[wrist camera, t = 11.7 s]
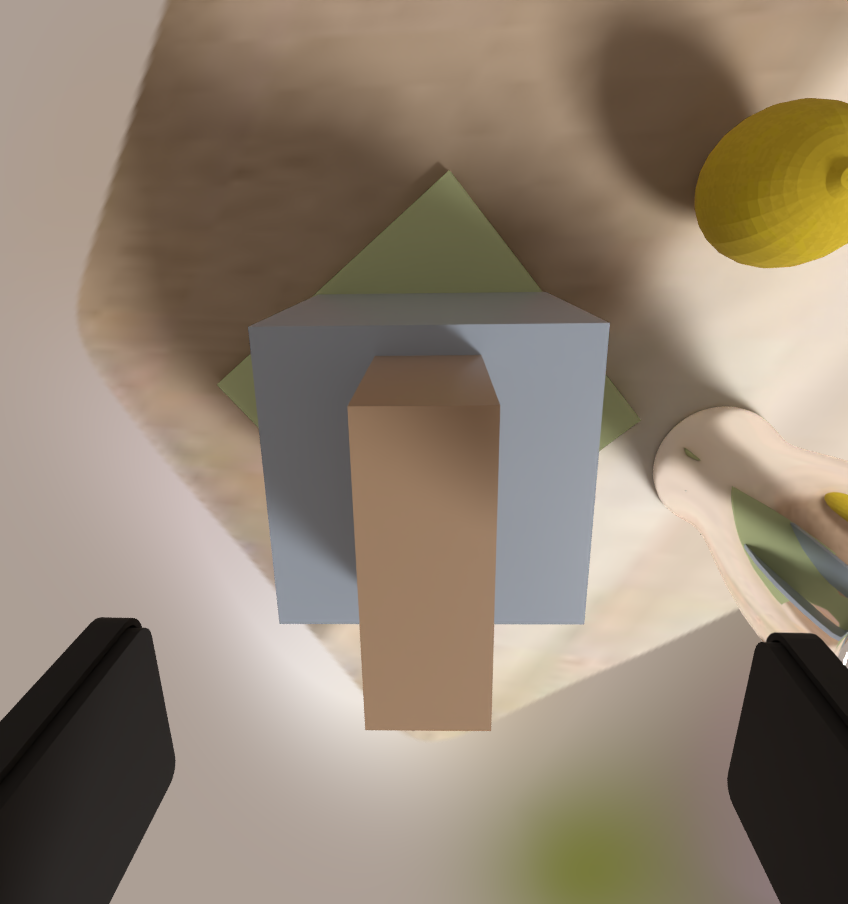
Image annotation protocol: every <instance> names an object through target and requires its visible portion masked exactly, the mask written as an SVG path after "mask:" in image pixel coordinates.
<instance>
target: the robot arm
mask: <svg viewBox="0 0 848 904" xmlns="http://www.w3.org/2000/svg"><path fill="white" fill-rule="evenodd" d="M174 770H175V754H174V749H173V743H172V738H171V733H170V728H169V723H168V717H167V712H166V708H165V702H164V697H163V691H162V686H161V681H160V676H159V671H158V665H157V660H156V655H155V650H154V645H153V640H152V635H151V632H150V631H149V629H147V628H142V626H141V624H140V622H139V621H138V620H137V619H135V618H104V617H101V618H97V619H95V620H94V621H93V622H91V623H90V624H89V626H88V627H87V628H86V629H85V630H84V631H83V632H82V633H81V634H80V635H79V636H78V638H77V639H76V640H75V641H74V642H73V643H72V644H71V645H70V646H69V647H68V649H67V650H66V651H65V652H64V653H63V654H62V655H61V656H60V657H59V658H58V659H57V660H56V662H55V663H54V664H53V665H52V666H51V667H50V668H49V669H48V670H47V671H46V673H45V674H44V675H43V676H42V677H41V678H40V679H39V680H38V681H37V682H36V683H35V684H34V685H33V687H32V688H31V689H30V690H29V691H28V692H27V693H26V694H25V695H24V696H23V697H22V698H21V700H20V701H19V702H18V703H17V704H16V705H15V706H14V707H13V708H12V710H10V712H9V713H8V714H7V715H6V716H5V717H4V718H3V719H2V720H1V721H0V904H109V903H110V901H111V899H112V897H113V895H114V893H115V891H116V889H117V887H118V885H119V883H120V881H121V880H122V878H123V876H124V874H125V872H126V870H127V868H128V866H129V864H130V862H131V860H132V858H133V856H134V854H135V852H136V850H137V848H138V846H139V844H140V842H141V840H142V838H143V836H144V834H145V832H146V831H147V828H148V827H149V824H150V823H151V821H152V819H153V817H154V815H155V813H156V811H157V809H158V807H159V805H160V803H161V801H162V799H163V797H164V795H165V793H166V791H167V789H168V787H169V785H170V783H171V781H172V778H173V774H174ZM727 779H728V780H727V781H728V790H729V795H730V799H731V801H732V804H733V806H734V808H735V810H736V812H737V814H738V816H739V818H740V820H741V823H742V825H743V827H744V829H745V831H746V832H747V835H748V837H749V839H750V841H751V843H752V845H753V847H754V849H755V851H756V854H757V855H758V858H759V860H760V862H761V864H762V866H763V868H764V870H765V872H766V874H767V876H768V878H769V881H770V883H771V884H772V887H773V889H774V891H775V893H776V895H777V897H778V899H779V901H780V903H781V904H848V668H847V667H846V666H845V665H844V664H843V662H842V661H841V660H840V659H839V658H838V657H837V656H836V655H835V653H834V652H833V651H832V650H831V649H830V648H829V647H828V646H827V645H826V643H825V642H824V641H823V640H822V639H821V638H820V637H819V636H817V635H816V634H812V633H782V632H774V633H771V634H770V635H769V636H768V637H767V640H766V642H760V643H758V645H757V646H756V648H755V651H754V656H753V661H752V666H751V670H750V675H749V680H748V684H747V689H746V693H745V698H744V702H743V707H742V711H741V716H740V721H739V726H738V730H737V735H736V739H735V744H734V749H733V753H732V758H731V762H730V767H729V772H728V778H727Z"/></svg>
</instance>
